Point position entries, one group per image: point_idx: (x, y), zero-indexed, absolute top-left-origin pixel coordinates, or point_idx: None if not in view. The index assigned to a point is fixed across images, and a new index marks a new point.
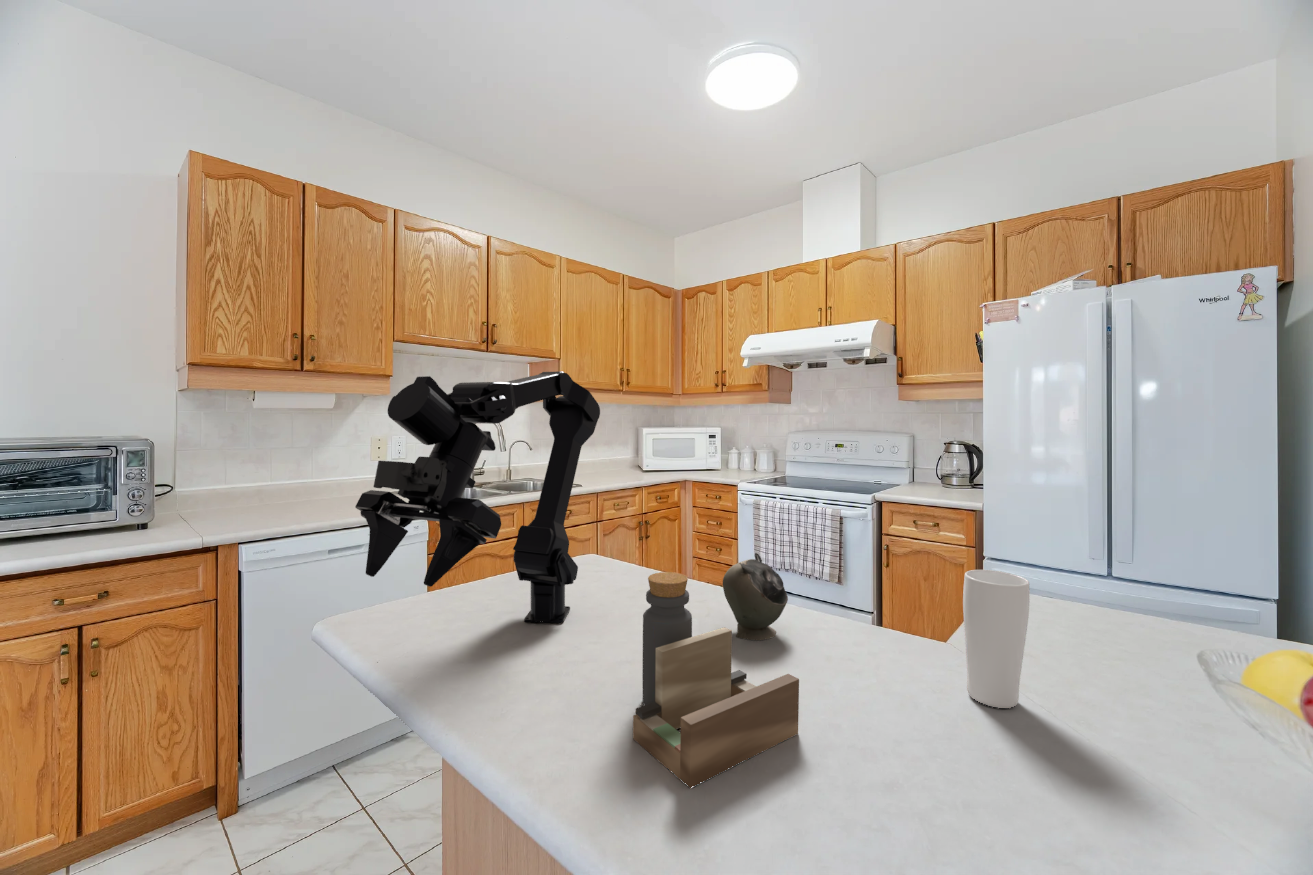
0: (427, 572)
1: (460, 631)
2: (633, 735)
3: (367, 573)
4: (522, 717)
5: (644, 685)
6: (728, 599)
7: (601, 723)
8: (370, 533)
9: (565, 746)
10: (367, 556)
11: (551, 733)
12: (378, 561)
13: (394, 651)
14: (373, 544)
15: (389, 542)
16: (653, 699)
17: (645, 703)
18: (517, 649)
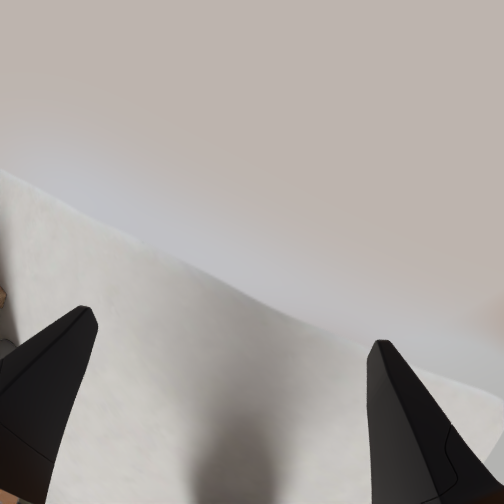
0: (66, 326)
1: (328, 481)
2: (4, 294)
3: (379, 340)
4: (89, 302)
5: (4, 354)
6: (23, 500)
7: (29, 312)
8: (480, 469)
9: (37, 265)
10: (424, 386)
11: (53, 282)
12: (378, 403)
13: None
14: (427, 433)
15: (391, 496)
16: (2, 343)
17: (14, 348)
18: (205, 459)
